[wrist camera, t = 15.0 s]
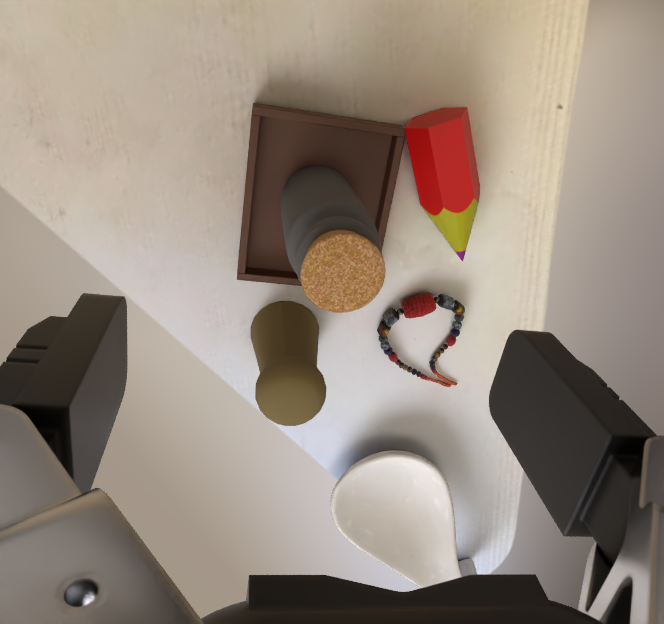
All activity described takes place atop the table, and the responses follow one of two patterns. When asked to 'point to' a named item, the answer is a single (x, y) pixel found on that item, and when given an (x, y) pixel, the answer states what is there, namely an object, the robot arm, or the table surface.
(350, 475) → the spoon rest
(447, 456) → the table surface
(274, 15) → the table surface
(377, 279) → the bottle
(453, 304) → the necklace
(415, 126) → the pencil
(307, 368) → the pepper shaker
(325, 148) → the tray
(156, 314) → the table surface
